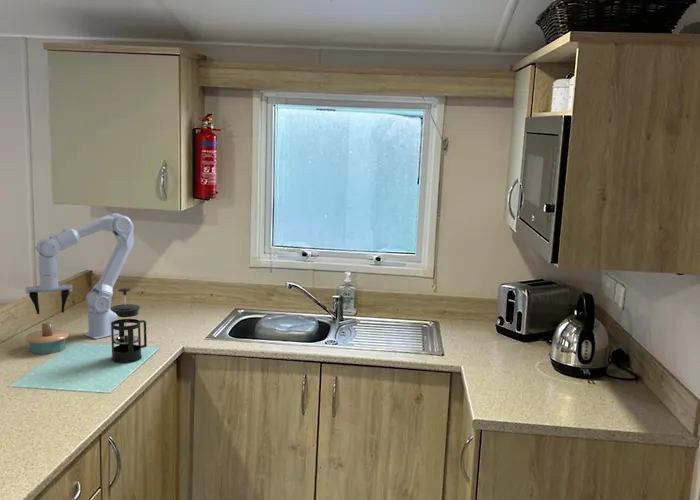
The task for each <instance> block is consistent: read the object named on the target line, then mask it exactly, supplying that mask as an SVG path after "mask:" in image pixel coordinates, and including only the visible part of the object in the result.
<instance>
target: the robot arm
mask: <svg viewBox="0 0 700 500" xmlns="http://www.w3.org/2000/svg"><path fill="white" fill-rule="evenodd" d="M134 229H135V225H134V224H133V222H132V219H130V217H128V216H126V215H123V214H121V213H117V212H113V213H111V214H109V215H107V214H106V215H104V216H102V217H101V218H98V219H95V220H94V221H91V222H89V223H87V224H85V225H83V226H81V227H79V228H76V229H73V228H66V227H65V228H62V231H60V232H58V233H56V234H50V235H48V236H49V237H43V238H41V239H39V240H38V242H37V243H36V246H35V250H36V252H37V253H38V272H39V273H38V275H39V285H35V286H34V285H33V286H26V287H25V294H26V295H29V298H30V300H31V302H32V303H33V305H34V308H35V311H36V315H40V306H39V305H40V304H39V293H40V294H41V293H42V294H43V293H56V292H61V293H60V297H61V300H60V301H61V311H60V312H61V313H62V314H64V313H65V312H64V311H65V306H66V303H67V300H68V297H69V294H70V292H73V284H59V274H58V273H59V271H58V258H57V254H58V252H61V251H63V250H66V249H67V248H71V247H72V246H75V245H77V244H78V243H79V242H80V240H81V239H83V238H85V237H87V236H90V235H93V234H95V233H98V232H101V231H106V232H107V231H108V232H111V233H112V234H113V235H114V237H115V239H116V241H117V243H116V245H115V247H114V249H113V251H112V253H111V256H110V258H109V260H108V262H107V263H106V265H105V268H104V270H103V272H102V274H101V276H100V278H99V281H98V282H96V284H95V285H93V287H92V289H91V290H89V291H88V293H86V296H85V302H86V304H87V306H88V309H87V322H88V323H87V326H88V332H84V333H83V335H84V336H86V337H88V338H91V339H94V340H98V339H103V338H107V337H111V322H113V321H115V320H118V315H117V314H116V313H113V312H112V311H111V307H112V305H111V304H112V298H113V295H114V293H113V291H114V290H113V288H114V286H115V284H116V283H117V280H118V278H119V276H120V274H121V271H122V270H123V268H124V265H125V263H126V261H127V258H128V257H129V254H130V252H131V250H132V249H133V247H134V244H135V238H134ZM115 326H119V324H116V325H115ZM113 332H114V336H115V335H119V330H114V329H113Z"/></svg>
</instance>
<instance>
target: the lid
mask: <svg viewBox="0 0 700 500" xmlns="http://www.w3.org/2000/svg"><path fill="white" fill-rule="evenodd" d="M69 335H70V334H69V332H68V331H67V330H62V329H53V322H51V321H50V322H49V321H46V322H42V323H41V330H38V331H33V332H31V333H29V334H27V335H26V336H25V341H26V342H27V343H29V342H31V343H53V342H58V341H62V340H65V341H66V339H68V338H69Z"/></svg>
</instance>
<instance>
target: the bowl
mask: <svg viewBox="0 0 700 500" xmlns="http://www.w3.org/2000/svg"><path fill="white" fill-rule="evenodd" d="M28 343H29V352H30V353H33V354H37V355H38V354H39V355H41V354H42V355H45V354H54V353H59V352H61V351H64V350H65V349H66V339H65V340H62V341H58V342H53V343H31V342H28Z"/></svg>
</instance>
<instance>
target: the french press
mask: <svg viewBox="0 0 700 500" xmlns="http://www.w3.org/2000/svg"><path fill="white" fill-rule="evenodd" d="M131 291H132V288H129V287H122V288H119V289H118V290H117V292H120V293H121V292H122V293H123V298H124V304H123V303H122V304H116V305H114V306H110V309H111V311H112V312H113V313H116V314H117V317H120V319H117V320H115V321H113V322H111V336H110V337H111V357H110V358H111V361H112V362H114V363H118V364H127V363H129V364H130V363H134V362H139V360H142V357H143V355H142V349H144V348H147V341H148V340H147V321H146V320H144V319H143V320H142V319H141V320H139V319H137V318H131V317H136V316H138V315H139V311H140V309H141V306H140V305H137V304H132V303H131V304H129V303H128V304H127V301H126V298H127V297H126V296H127V293H128V292H131ZM129 323H130V324H131V325H127V324H129ZM141 323H143V345H142V344H141V341H142V340H141V338H142V337H141ZM116 324H117V325H118V326H115V325H116ZM132 324H133V325H132ZM113 329H114V330H118V332H119V334H118V336H115V335H114V332H113ZM136 329H137V335H134V330H136ZM136 343H138V344H136ZM115 345H116V346H115Z"/></svg>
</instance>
